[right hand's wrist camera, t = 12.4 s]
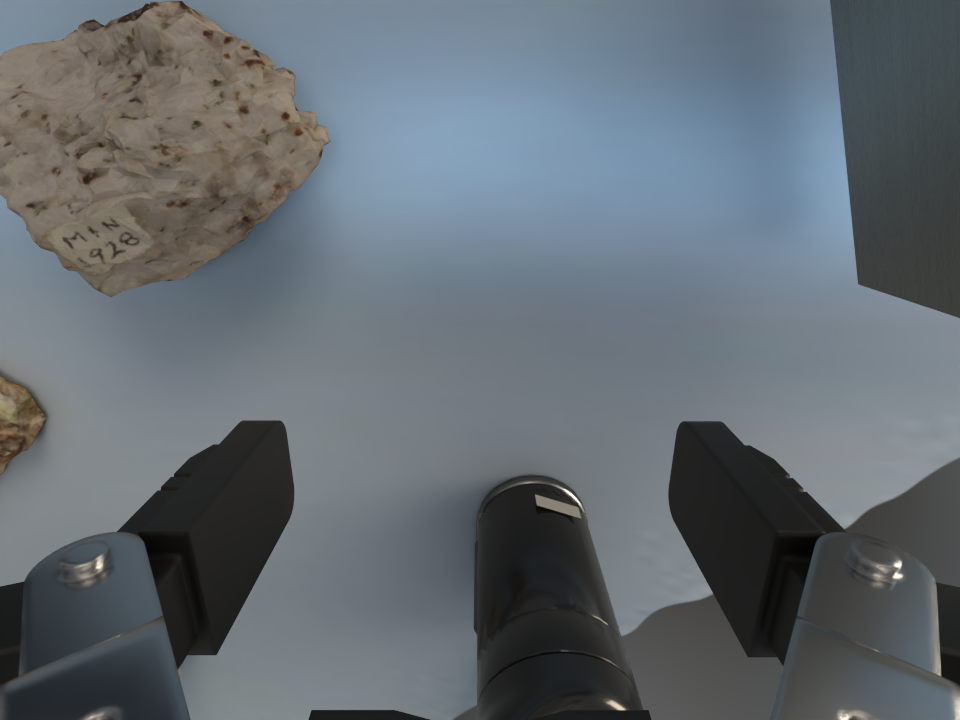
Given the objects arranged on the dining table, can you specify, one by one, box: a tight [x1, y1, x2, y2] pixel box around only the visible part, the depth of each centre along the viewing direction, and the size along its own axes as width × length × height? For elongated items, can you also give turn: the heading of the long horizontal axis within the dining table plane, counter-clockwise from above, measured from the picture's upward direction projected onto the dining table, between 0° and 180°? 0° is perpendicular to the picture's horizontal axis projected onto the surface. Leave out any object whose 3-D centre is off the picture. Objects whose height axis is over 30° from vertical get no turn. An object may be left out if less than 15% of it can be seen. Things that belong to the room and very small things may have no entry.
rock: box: [0, 1, 330, 297], centre depth 31 cm, size 15×17×15 cm
